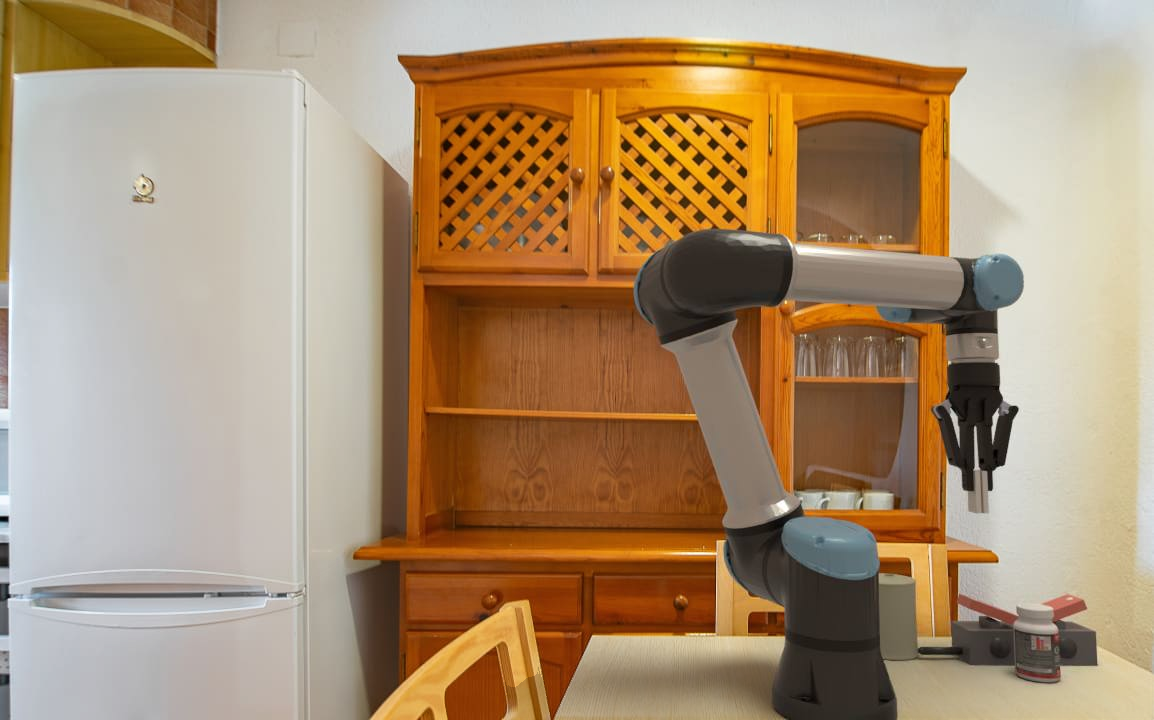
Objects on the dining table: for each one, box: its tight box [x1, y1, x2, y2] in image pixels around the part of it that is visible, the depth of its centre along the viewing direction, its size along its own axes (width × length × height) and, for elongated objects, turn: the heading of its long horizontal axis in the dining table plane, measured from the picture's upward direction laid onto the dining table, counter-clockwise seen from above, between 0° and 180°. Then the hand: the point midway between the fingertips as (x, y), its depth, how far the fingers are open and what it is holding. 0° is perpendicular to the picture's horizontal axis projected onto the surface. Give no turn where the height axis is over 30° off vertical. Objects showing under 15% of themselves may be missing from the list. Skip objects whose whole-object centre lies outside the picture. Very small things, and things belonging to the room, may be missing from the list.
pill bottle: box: [1013, 602, 1062, 684], centre depth 114 cm, size 6×6×10 cm
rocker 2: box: [1041, 593, 1088, 622], centre depth 123 cm, size 8×4×2 cm, turn 91°
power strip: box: [918, 615, 1098, 666], centre depth 122 cm, size 26×6×6 cm, turn 89°
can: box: [879, 572, 920, 661], centre depth 127 cm, size 9×9×12 cm
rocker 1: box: [956, 593, 1019, 625], centre depth 123 cm, size 8×4×2 cm, turn 88°
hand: (978, 512), depth 124 cm, fingers closed
